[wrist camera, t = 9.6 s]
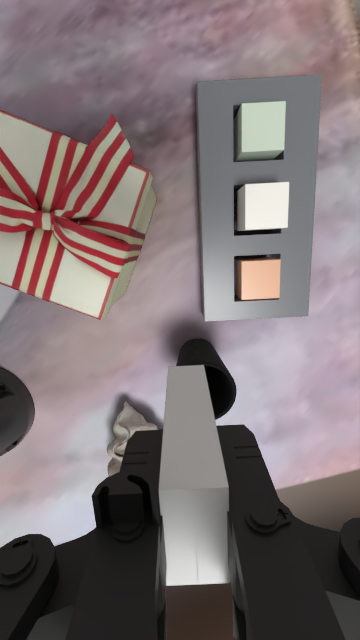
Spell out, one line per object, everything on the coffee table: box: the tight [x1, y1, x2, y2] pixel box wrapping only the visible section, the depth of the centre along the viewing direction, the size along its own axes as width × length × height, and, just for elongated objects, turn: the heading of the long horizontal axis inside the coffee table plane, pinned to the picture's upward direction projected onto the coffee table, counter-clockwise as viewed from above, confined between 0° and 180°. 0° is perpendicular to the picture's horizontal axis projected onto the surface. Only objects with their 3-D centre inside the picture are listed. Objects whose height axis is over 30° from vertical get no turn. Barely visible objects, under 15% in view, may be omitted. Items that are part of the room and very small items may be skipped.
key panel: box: [196, 75, 322, 321], centre depth 40 cm, size 14×28×4 cm, turn 3°
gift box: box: [0, 110, 157, 320], centre depth 34 cm, size 17×18×17 cm
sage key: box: [234, 101, 286, 162], centre depth 36 cm, size 5×5×5 cm
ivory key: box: [237, 182, 289, 231], centre depth 37 cm, size 5×5×5 cm
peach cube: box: [234, 257, 281, 300], centre depth 41 cm, size 5×5×5 cm
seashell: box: [107, 402, 157, 476], centre depth 46 cm, size 10×15×10 cm
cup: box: [177, 339, 236, 420], centre depth 41 cm, size 8×8×12 cm
